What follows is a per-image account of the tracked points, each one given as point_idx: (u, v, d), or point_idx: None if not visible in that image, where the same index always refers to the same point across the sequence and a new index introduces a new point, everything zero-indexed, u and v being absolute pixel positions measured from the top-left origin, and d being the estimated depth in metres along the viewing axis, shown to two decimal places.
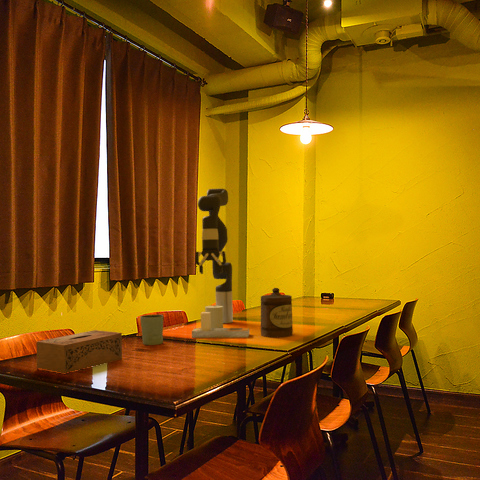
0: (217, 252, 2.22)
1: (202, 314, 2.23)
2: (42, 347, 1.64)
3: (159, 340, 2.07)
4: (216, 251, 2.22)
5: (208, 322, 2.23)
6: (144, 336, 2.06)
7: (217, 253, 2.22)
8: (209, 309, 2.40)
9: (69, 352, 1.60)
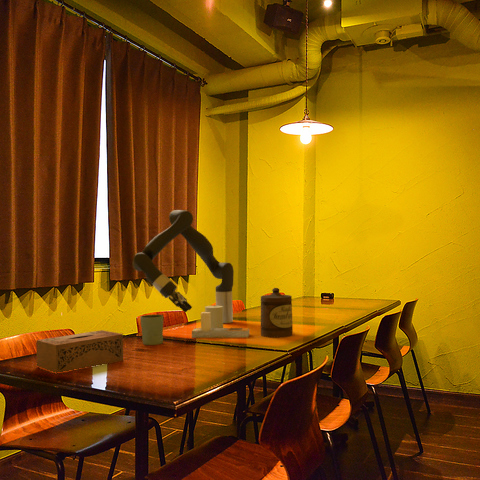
0: None
1: (202, 314, 2.23)
2: (40, 346, 1.66)
3: (159, 340, 2.07)
4: None
5: (208, 322, 2.23)
6: (144, 336, 2.06)
7: None
8: (209, 309, 2.40)
9: (62, 352, 1.60)
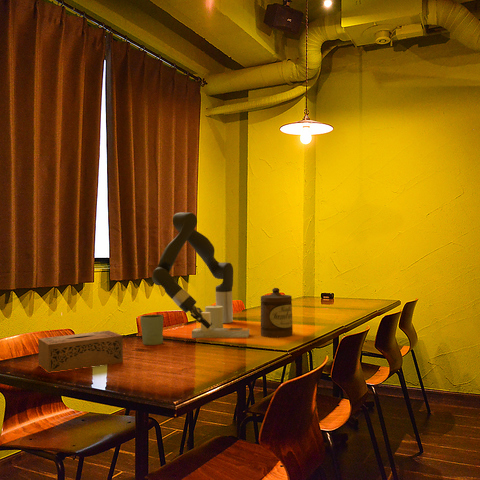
0: (191, 313, 2.22)
1: (202, 314, 2.23)
2: (40, 344, 1.68)
3: (159, 340, 2.07)
4: None
5: (208, 322, 2.23)
6: (144, 336, 2.06)
7: (191, 313, 2.22)
8: (209, 309, 2.40)
9: (55, 352, 1.60)
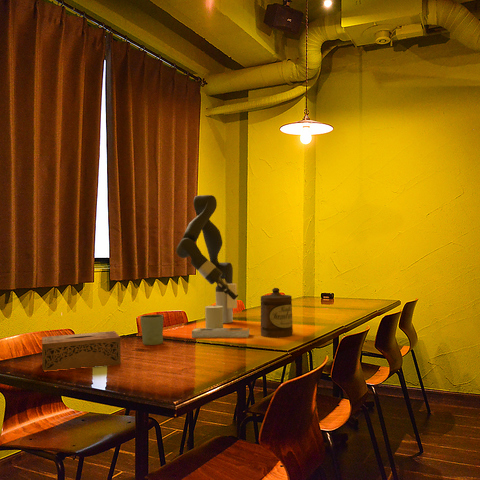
0: (217, 284, 2.21)
1: (228, 285, 2.22)
2: None
3: (159, 340, 2.07)
4: None
5: (234, 293, 2.22)
6: (144, 336, 2.06)
7: (218, 284, 2.21)
8: (209, 309, 2.40)
9: (49, 351, 1.62)
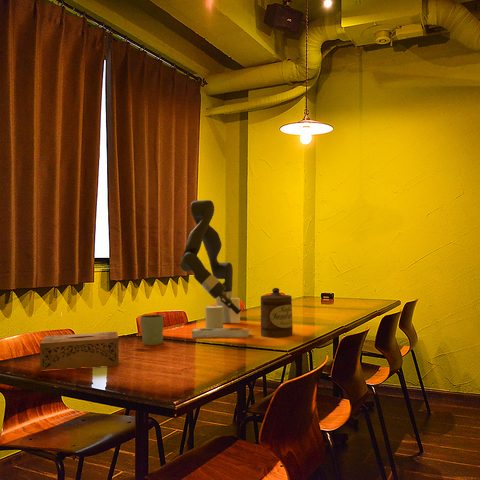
0: (220, 298, 2.21)
1: (232, 300, 2.22)
2: None
3: (159, 340, 2.07)
4: (219, 297, 2.21)
5: (238, 308, 2.21)
6: (144, 336, 2.06)
7: (221, 299, 2.21)
8: (209, 309, 2.40)
9: (47, 351, 1.63)
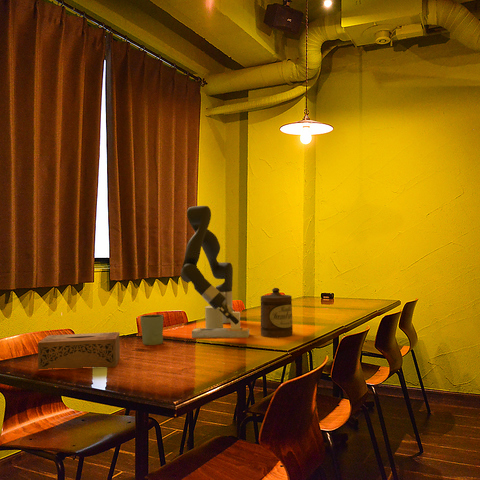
0: None
1: None
2: None
3: (159, 340, 2.07)
4: (220, 308, 2.21)
5: (238, 322, 2.21)
6: (144, 336, 2.06)
7: None
8: (209, 309, 2.40)
9: (44, 350, 1.64)
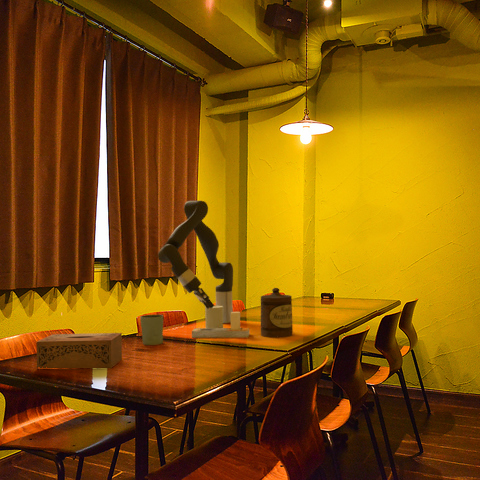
0: (197, 292, 2.23)
1: (232, 314, 2.21)
2: None
3: (159, 340, 2.07)
4: (196, 291, 2.23)
5: (238, 322, 2.21)
6: (144, 336, 2.06)
7: (197, 293, 2.23)
8: (209, 309, 2.40)
9: (43, 349, 1.65)
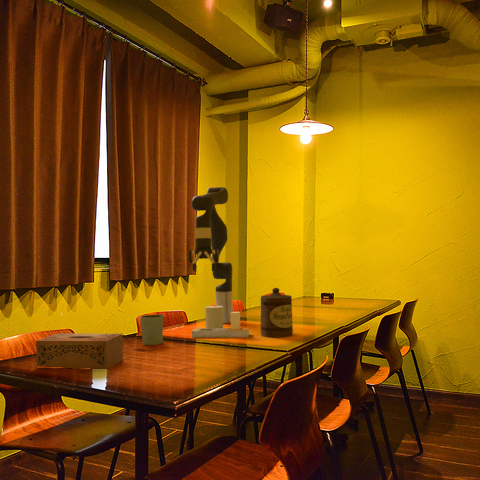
0: (210, 250, 2.27)
1: (232, 314, 2.22)
2: None
3: (159, 340, 2.07)
4: (209, 249, 2.27)
5: (238, 322, 2.21)
6: (144, 336, 2.06)
7: (210, 251, 2.27)
8: (209, 309, 2.40)
9: (42, 348, 1.67)
